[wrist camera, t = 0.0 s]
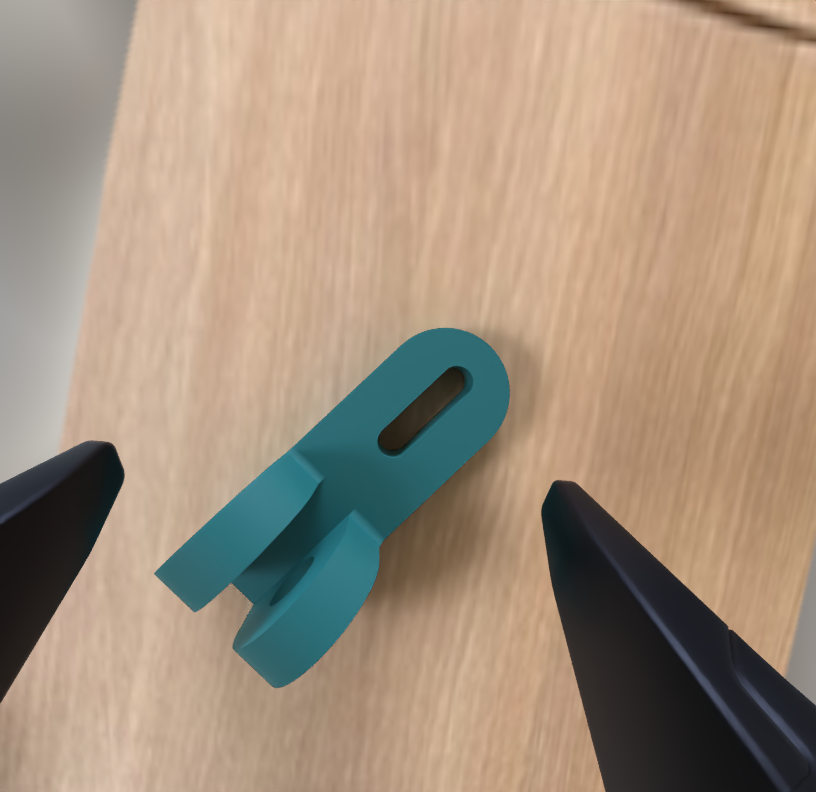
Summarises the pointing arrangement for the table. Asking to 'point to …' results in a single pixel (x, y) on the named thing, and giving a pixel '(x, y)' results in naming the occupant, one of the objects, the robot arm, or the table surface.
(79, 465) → the robot arm
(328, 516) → the bracket
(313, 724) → the table surface
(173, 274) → the table surface
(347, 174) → the table surface
